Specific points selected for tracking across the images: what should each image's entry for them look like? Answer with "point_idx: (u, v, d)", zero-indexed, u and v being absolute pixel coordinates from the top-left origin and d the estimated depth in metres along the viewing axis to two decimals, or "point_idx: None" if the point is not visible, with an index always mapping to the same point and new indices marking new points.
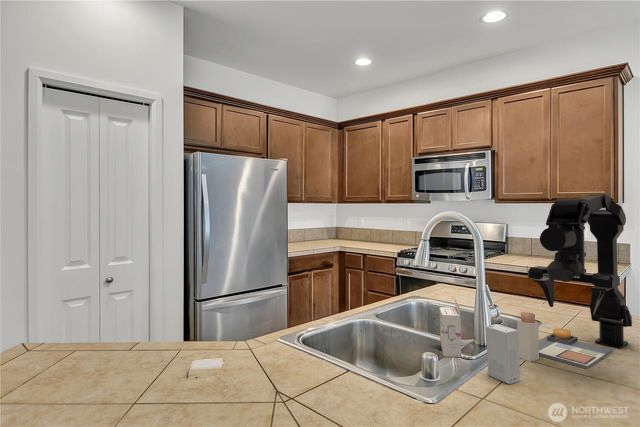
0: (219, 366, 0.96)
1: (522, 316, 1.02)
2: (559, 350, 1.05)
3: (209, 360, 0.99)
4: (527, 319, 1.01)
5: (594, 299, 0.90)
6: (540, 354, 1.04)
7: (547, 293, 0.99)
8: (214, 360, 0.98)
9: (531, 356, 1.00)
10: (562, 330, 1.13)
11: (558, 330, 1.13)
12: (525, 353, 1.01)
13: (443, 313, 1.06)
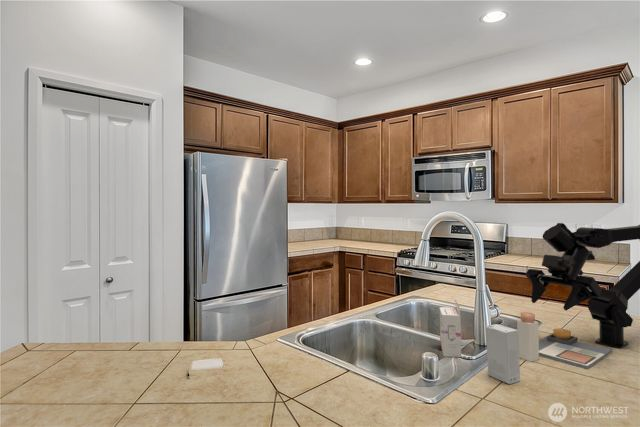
0: (220, 366, 0.96)
1: (522, 316, 1.02)
2: (559, 350, 1.05)
3: (209, 360, 0.99)
4: (527, 319, 1.01)
5: (571, 295, 1.01)
6: (540, 354, 1.04)
7: (534, 289, 1.11)
8: (214, 360, 0.98)
9: (531, 356, 1.00)
10: (562, 330, 1.13)
11: (558, 330, 1.13)
12: (525, 353, 1.01)
13: (443, 313, 1.06)
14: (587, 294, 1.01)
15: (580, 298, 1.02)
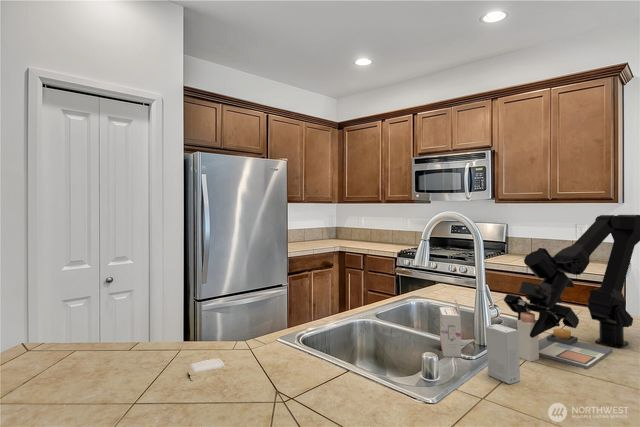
0: (222, 365, 0.96)
1: (522, 316, 1.02)
2: (559, 350, 1.05)
3: (208, 361, 0.98)
4: (527, 319, 1.01)
5: (538, 322, 1.00)
6: (540, 354, 1.04)
7: (520, 318, 1.05)
8: (214, 360, 0.98)
9: (531, 356, 1.00)
10: (562, 330, 1.13)
11: (558, 330, 1.13)
12: (525, 353, 1.01)
13: (443, 313, 1.06)
14: (554, 322, 1.00)
15: (547, 325, 1.00)
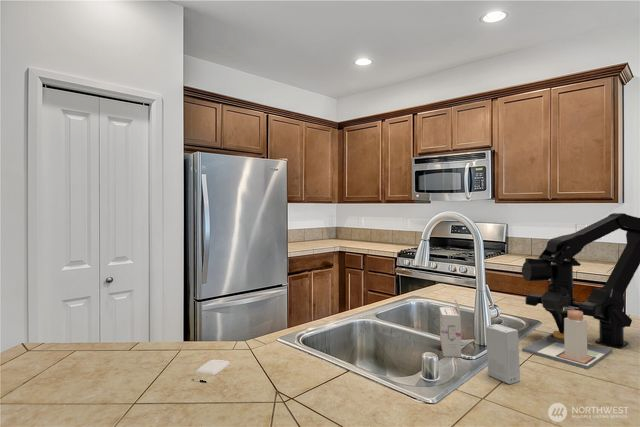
0: (228, 362, 0.98)
1: (570, 314, 1.00)
2: (559, 350, 1.05)
3: (209, 363, 0.97)
4: (575, 317, 0.99)
5: (563, 321, 1.11)
6: (540, 354, 1.04)
7: (557, 321, 1.13)
8: (214, 361, 0.98)
9: (580, 355, 0.98)
10: None
11: (558, 333, 1.13)
12: (573, 351, 0.99)
13: (443, 313, 1.06)
14: None
15: None
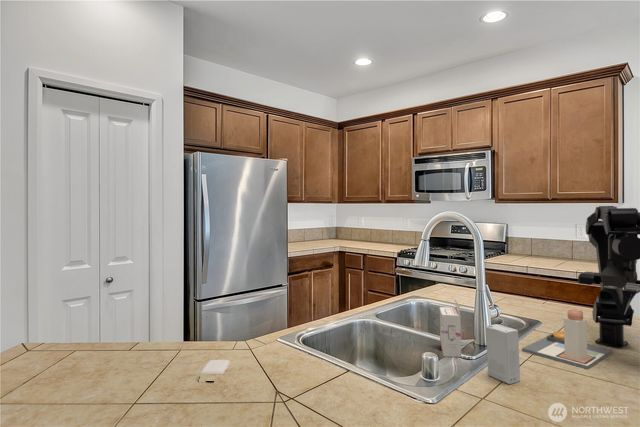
0: (229, 361, 0.99)
1: (570, 314, 1.00)
2: (559, 350, 1.05)
3: (211, 363, 0.96)
4: (575, 317, 0.99)
5: (625, 301, 0.99)
6: (540, 354, 1.04)
7: (617, 301, 1.00)
8: (215, 361, 0.98)
9: (580, 355, 0.98)
10: (562, 333, 1.13)
11: (558, 334, 1.13)
12: (573, 351, 0.99)
13: (443, 313, 1.06)
14: None
15: (632, 296, 1.00)
